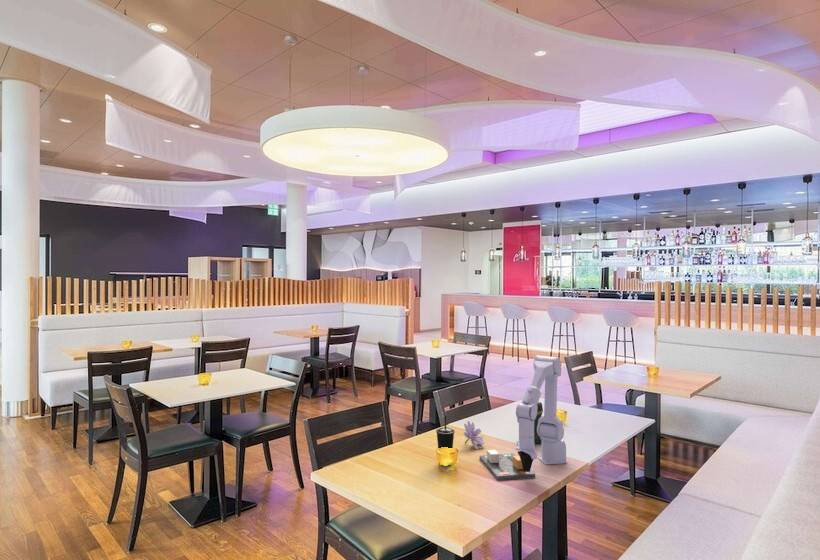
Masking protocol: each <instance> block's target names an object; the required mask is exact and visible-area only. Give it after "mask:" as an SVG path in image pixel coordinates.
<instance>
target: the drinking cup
mask: <svg viewBox="0 0 820 560" xmlns="http://www.w3.org/2000/svg"><path fill="white" fill-rule="evenodd" d="M435 432H436V440H437V449H438V448H441V447H448V448H453V449H454V438H455V437H454V435H455V429H453V428H451V427H447V414H444V426H443V427H440V428H437V429H436V430H435Z"/></svg>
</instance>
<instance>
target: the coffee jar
mask: <svg viewBox="0 0 820 560" xmlns="http://www.w3.org/2000/svg"><path fill="white" fill-rule="evenodd" d="M537 407H538V409H537V416H536V418H535V420H534V444H535V445H536V444H542V439H540V437H539V436H538V434H537V426H538V420H539V419H540V418H541V417H542V415H543V414H544V408H543V404H542V402H539V401H538V404H537Z"/></svg>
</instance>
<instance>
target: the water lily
mask: <svg viewBox="0 0 820 560" xmlns="http://www.w3.org/2000/svg"><path fill="white" fill-rule="evenodd" d="M463 425H464V429H465V431H466V432H465V431H464V432H463V435H464V437H465V438H466V440H465V441H464V443H465V444H464V445H466V443H468V441H470V442H471V444H472V446H473V447H474V449H475V450H476V448H477V449H479V448H478V445H480V446H482V447H485V445H484V444H485V441H484V440H485V437H483V436H479V435H480V434H481V432H482V429H480V428H475V427H476V426H475V423H474V421H472V422H470V420H467V424H466V423H463ZM483 443H484V444H483ZM477 444H478V445H477Z"/></svg>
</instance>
